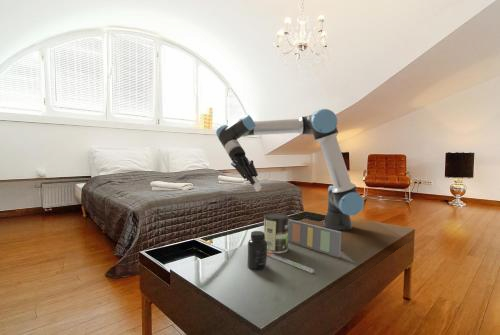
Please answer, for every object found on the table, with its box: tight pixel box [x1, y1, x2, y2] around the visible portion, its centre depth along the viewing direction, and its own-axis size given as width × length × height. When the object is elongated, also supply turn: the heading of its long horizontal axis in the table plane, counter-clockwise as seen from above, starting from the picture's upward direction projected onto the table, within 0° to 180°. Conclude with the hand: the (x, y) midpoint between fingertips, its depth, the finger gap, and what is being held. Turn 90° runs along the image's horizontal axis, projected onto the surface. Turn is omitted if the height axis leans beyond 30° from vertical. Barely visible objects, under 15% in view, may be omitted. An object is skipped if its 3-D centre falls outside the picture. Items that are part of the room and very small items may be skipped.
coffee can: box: [263, 212, 290, 254], centre depth 107 cm, size 10×10×14 cm
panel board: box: [288, 218, 342, 259], centre depth 108 cm, size 1×26×10 cm, turn 45°
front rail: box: [267, 252, 315, 274], centre depth 95 cm, size 1×26×1 cm, turn 45°
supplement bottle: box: [246, 230, 268, 271], centre depth 89 cm, size 7×7×12 cm
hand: (259, 189), depth 113 cm, fingers closed
